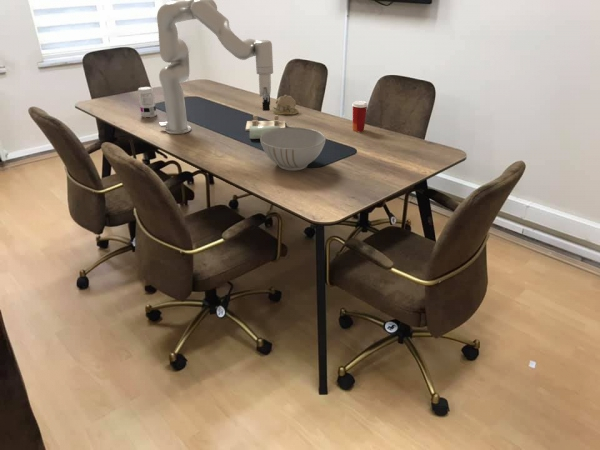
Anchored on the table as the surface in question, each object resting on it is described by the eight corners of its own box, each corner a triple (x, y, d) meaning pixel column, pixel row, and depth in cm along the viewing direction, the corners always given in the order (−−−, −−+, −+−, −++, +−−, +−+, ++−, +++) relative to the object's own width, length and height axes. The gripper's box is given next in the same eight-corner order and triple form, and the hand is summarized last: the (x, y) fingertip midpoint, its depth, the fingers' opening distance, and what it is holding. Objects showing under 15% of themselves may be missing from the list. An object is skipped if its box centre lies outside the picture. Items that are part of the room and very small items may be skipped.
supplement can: (138, 117, 255) (133, 89, 247) (148, 113, 261) (143, 85, 254) (150, 118, 252) (146, 90, 244) (160, 114, 259) (155, 87, 251)
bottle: (249, 140, 222) (249, 128, 219) (250, 136, 227) (250, 124, 224) (290, 140, 222) (290, 128, 220) (290, 136, 228) (290, 124, 225)
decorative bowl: (274, 182, 180) (273, 152, 174) (252, 158, 202) (251, 131, 196) (335, 171, 190) (337, 143, 184) (308, 150, 211) (309, 124, 205)
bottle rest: (245, 130, 234) (245, 122, 232) (247, 122, 246) (246, 114, 243) (285, 130, 235) (285, 121, 233) (285, 122, 246) (285, 114, 244)
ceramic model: (294, 108, 270) (293, 91, 265) (300, 114, 260) (300, 96, 255) (270, 111, 266) (270, 93, 261) (276, 116, 256) (276, 98, 251)
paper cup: (367, 129, 237) (369, 101, 230) (363, 133, 231) (365, 105, 224) (353, 127, 240) (355, 99, 233) (348, 131, 234) (349, 103, 227)
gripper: (257, 66, 216) (259, 103, 225) (255, 74, 201) (257, 113, 210) (273, 65, 216) (274, 102, 225) (272, 73, 201) (274, 112, 210)
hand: (266, 107), depth 217 cm, fingers open, 9 cm apart
